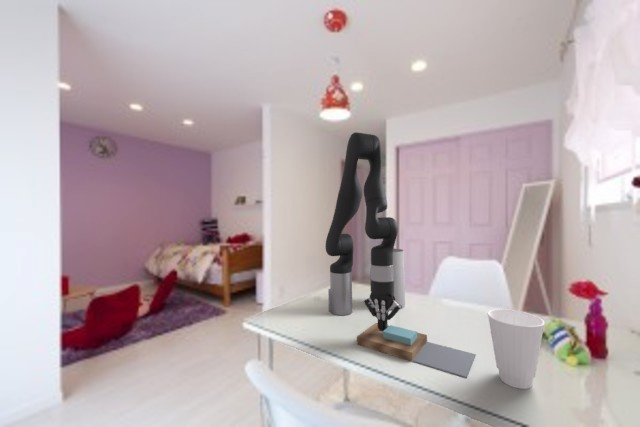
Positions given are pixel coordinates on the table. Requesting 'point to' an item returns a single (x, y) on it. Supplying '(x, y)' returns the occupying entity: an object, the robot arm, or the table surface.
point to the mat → (445, 359)
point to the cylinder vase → (399, 277)
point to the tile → (400, 335)
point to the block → (390, 343)
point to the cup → (516, 345)
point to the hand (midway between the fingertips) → (382, 330)
